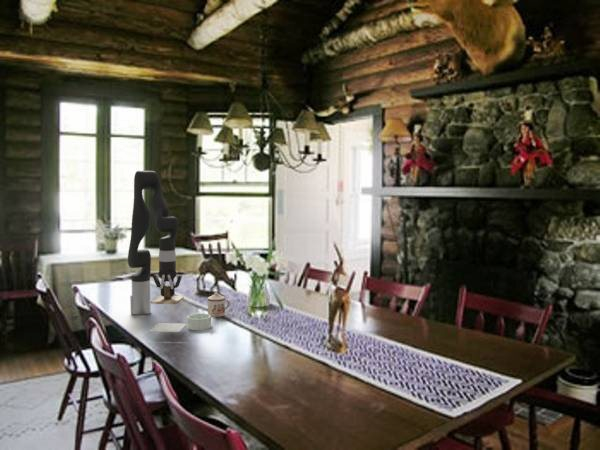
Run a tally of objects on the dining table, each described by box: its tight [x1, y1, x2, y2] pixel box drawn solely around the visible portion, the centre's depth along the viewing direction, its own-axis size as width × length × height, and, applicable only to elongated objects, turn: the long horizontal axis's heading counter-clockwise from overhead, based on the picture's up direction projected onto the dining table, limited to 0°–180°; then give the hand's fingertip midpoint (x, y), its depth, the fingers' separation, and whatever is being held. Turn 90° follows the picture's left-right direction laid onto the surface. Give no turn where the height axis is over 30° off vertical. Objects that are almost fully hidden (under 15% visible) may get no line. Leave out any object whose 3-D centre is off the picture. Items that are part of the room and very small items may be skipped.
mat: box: [148, 322, 187, 333], centre depth 242 cm, size 14×14×1 cm
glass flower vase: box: [246, 282, 271, 307], centre depth 290 cm, size 13×13×18 cm
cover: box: [150, 284, 185, 305], centre depth 241 cm, size 12×12×7 cm
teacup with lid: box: [206, 292, 231, 318], centre depth 267 cm, size 12×9×12 cm
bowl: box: [186, 312, 212, 331], centre depth 243 cm, size 11×11×6 cm
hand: (167, 296), depth 241 cm, fingers closed on cover, 3 cm apart
